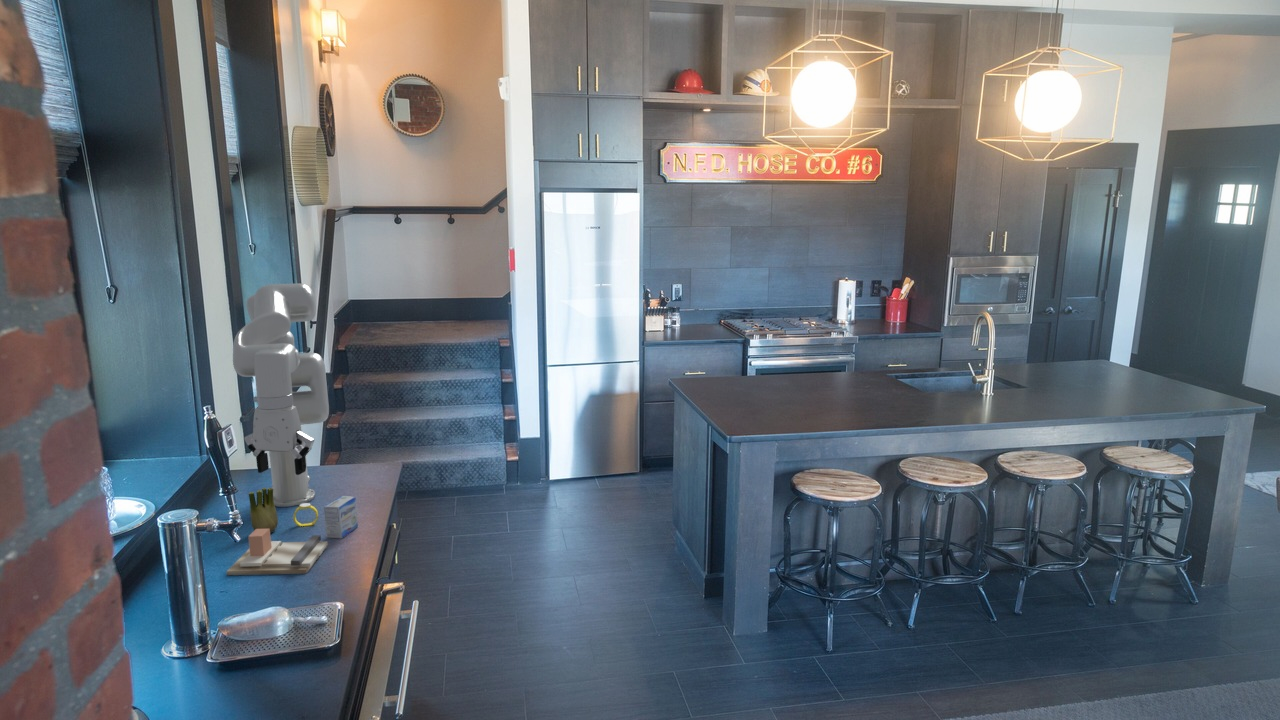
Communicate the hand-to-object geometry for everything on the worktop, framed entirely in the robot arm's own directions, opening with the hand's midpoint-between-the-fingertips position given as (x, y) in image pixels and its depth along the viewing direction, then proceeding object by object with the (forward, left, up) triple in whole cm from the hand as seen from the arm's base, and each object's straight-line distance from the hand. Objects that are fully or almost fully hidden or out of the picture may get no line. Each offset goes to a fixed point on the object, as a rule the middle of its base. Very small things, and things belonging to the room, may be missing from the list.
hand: (282, 472), depth 186 cm
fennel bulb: (-15, -12, -22) cm, 30 cm away
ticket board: (+1, -2, -22) cm, 22 cm away
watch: (-19, -3, -22) cm, 30 cm away
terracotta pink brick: (+1, -6, -21) cm, 22 cm away
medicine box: (-14, +8, -22) cm, 28 cm away
